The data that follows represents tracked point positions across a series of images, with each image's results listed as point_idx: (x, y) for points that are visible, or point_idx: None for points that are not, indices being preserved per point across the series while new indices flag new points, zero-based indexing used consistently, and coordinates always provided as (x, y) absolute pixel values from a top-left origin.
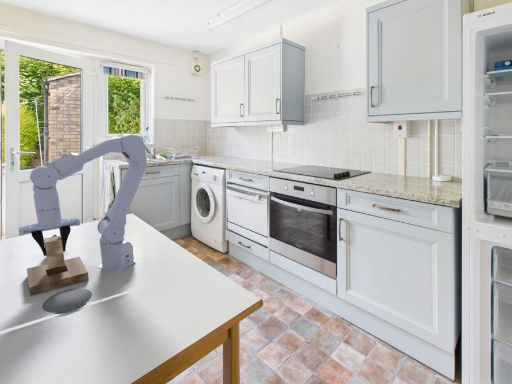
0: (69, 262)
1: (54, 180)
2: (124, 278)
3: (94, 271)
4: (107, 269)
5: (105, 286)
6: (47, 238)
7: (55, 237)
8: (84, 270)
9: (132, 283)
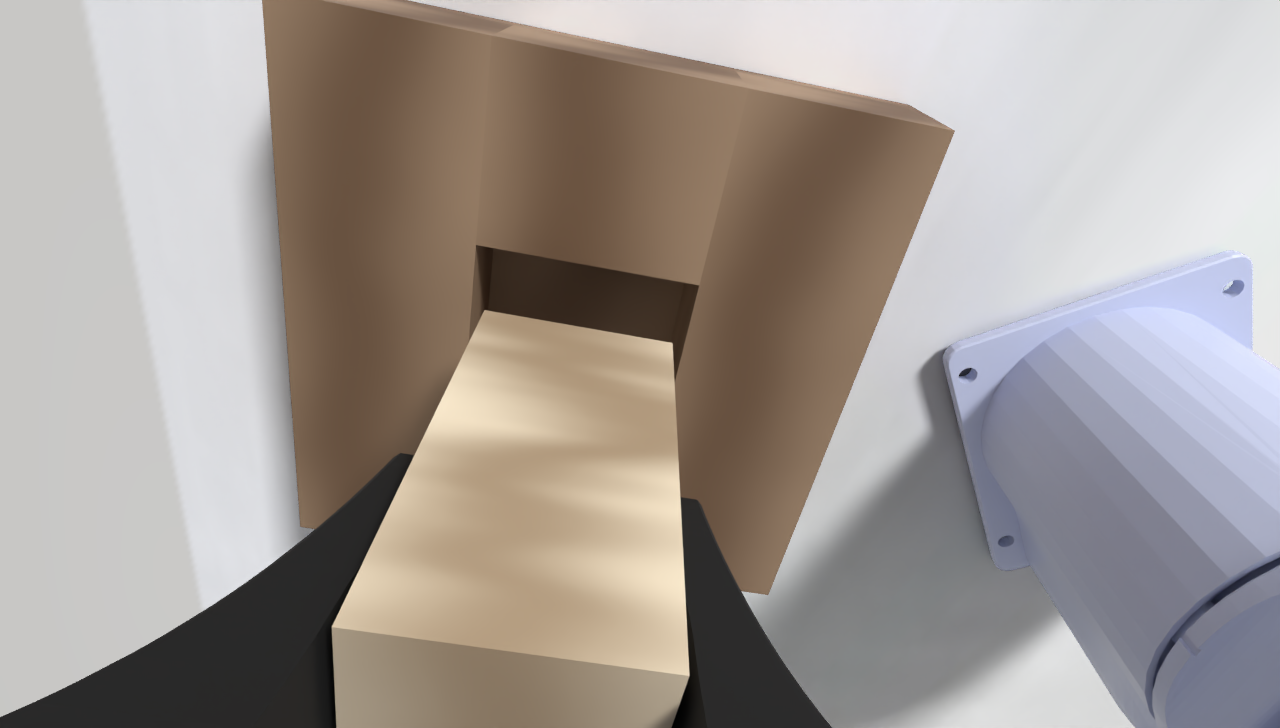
0: (761, 242)
1: None
2: (946, 644)
3: (894, 389)
4: (973, 476)
5: (792, 650)
6: (412, 669)
7: (573, 718)
8: (766, 548)
9: (924, 719)
